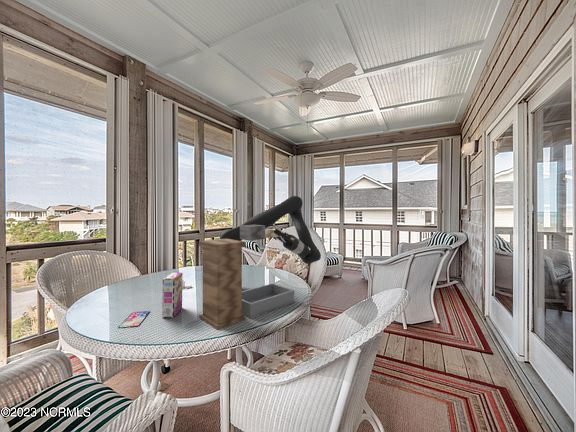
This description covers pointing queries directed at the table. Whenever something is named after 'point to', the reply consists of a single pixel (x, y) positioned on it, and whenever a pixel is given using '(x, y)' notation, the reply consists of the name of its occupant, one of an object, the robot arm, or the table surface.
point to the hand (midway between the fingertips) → (272, 230)
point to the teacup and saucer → (185, 285)
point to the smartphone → (134, 319)
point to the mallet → (256, 232)
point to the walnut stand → (222, 282)
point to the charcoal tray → (265, 299)
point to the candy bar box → (172, 295)
